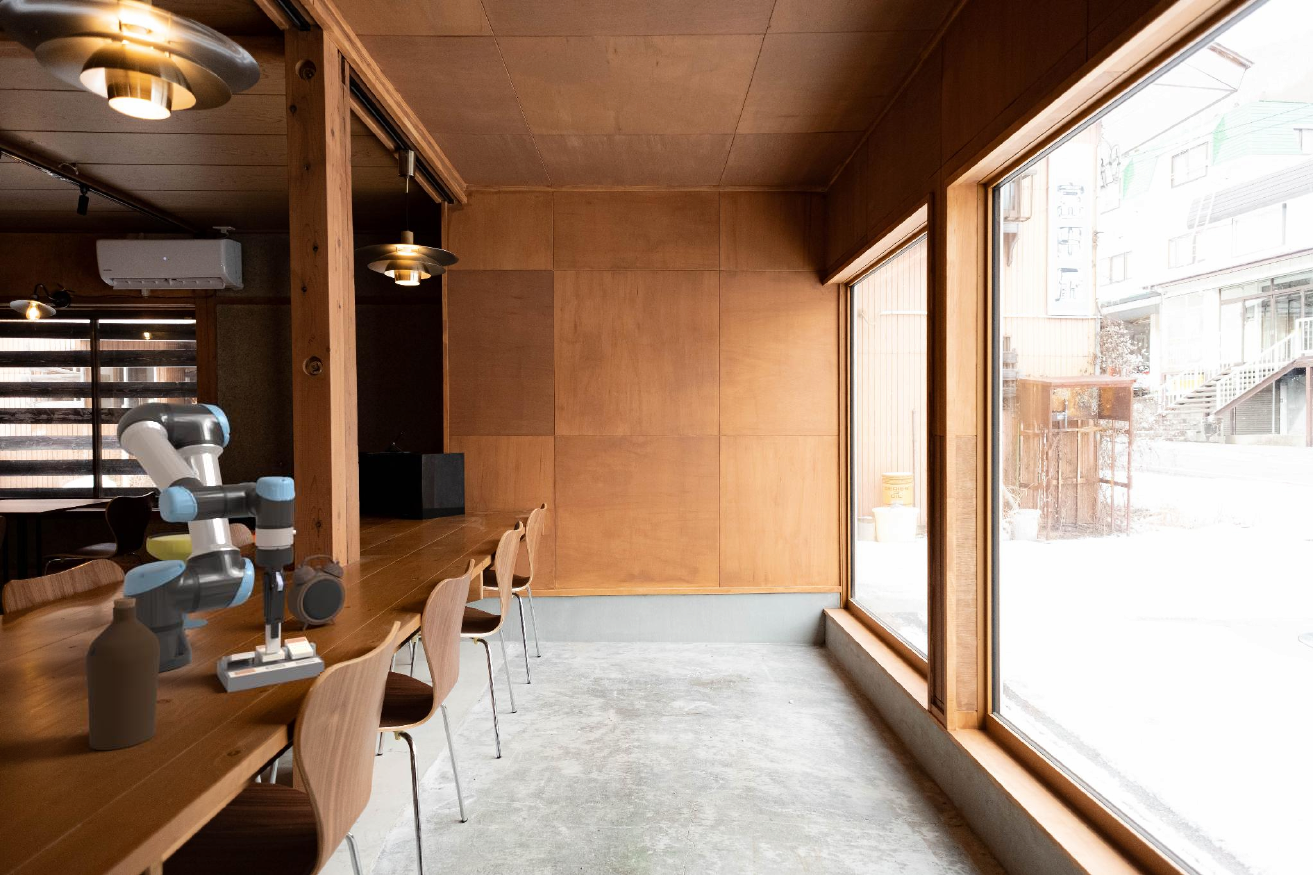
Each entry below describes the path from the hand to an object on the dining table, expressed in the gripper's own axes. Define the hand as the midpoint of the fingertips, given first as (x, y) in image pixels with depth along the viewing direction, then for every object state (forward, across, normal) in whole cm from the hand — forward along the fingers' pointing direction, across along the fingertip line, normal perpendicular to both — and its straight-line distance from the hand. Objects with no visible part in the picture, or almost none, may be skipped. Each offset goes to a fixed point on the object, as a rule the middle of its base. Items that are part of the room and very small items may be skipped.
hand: (272, 651), depth 163 cm
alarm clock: (+6, +38, -19) cm, 43 cm away
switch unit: (+6, +2, 0) cm, 6 cm away
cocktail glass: (+6, +60, +10) cm, 61 cm away
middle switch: (+1, +3, 0) cm, 3 cm away
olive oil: (+6, -20, +28) cm, 35 cm away
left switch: (+1, +3, +6) cm, 7 cm away
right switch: (+1, +3, -6) cm, 7 cm away
